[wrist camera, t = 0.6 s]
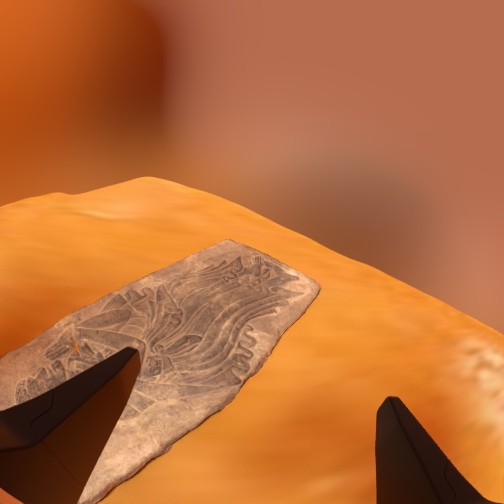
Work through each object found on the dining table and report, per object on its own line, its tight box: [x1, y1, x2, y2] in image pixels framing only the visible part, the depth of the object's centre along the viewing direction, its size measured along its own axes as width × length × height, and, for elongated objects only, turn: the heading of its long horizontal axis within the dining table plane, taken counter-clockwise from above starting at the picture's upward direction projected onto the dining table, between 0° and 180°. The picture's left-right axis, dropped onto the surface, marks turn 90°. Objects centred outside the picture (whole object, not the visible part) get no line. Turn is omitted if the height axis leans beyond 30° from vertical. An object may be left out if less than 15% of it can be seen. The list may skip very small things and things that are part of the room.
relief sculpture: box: [0, 239, 321, 504], centre depth 29 cm, size 19×45×1 cm, turn 145°
